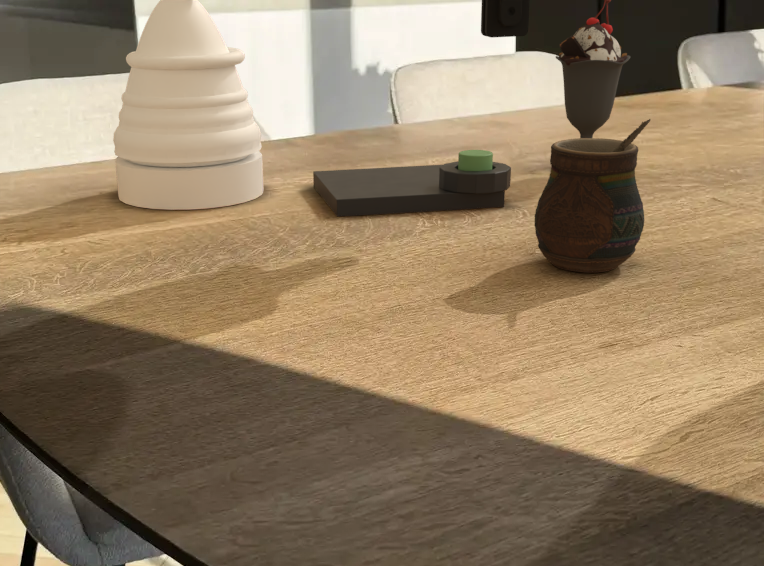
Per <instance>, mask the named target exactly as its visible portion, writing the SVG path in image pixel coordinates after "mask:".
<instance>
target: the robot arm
mask: <svg viewBox="0 0 764 566" xmlns="http://www.w3.org/2000/svg"><path fill="white" fill-rule="evenodd" d="M530 3H531V2H530V0H481V9H480V10H481V13H480V18H481V19H480V34H481V35H482V36H484V37H488V38H510V37H511V38H513V37H525V36H526V35H527V34H528V33H529V26H530V25H529V22H530Z"/></svg>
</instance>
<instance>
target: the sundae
mask: <svg viewBox="0 0 764 566" xmlns="http://www.w3.org/2000/svg"><path fill="white" fill-rule="evenodd" d="M603 1H604V2H603V6H602V8H601V9H600V11H599V12H598V13H597V14H596V15H595V16H594V17H589V18H588V19H587V20H586V21H585V24H584V25H583V26H581V27H579V28H578V29H577V31H575V33H574V34H572V35H571V36H569V37H567V38H566V39H565V40H563V41H562V42H560V43H559V48H560V51H561V52H559V54H558V55H556V56H555V59H556V60H557V61H559V62H560V63H561V66H562V68H561V69H562V78H563V79H562V80H563V94H564V95H563V96H564V97H563V98H564V107H565V116H566V119H567V120H568V122H569V123H570V124H571V126H572V127H574V128H575V129H576V130H577V131H578V132H579V138H594V134H595V133H596V132H597V130H599V129H600V128H602V127H603V126H604V125H605V124H606V122H608V120H609V119H610V117H611V114H612V111H613V108H614V104H615V101H616V100H615V99H616V94H617V90H618V85H619V80H620V77H621V72H622V69H623V65H625V64H626V63H627V62H628V61H630V59H631V55H629V54H628V53H627V52H624V53H622V46H621V45H620V44H619V42H618V40H617V39H616V38H615V37H614V36H612V35H611V34H612V33H613V30H614V29H613V26H612V25H611V24H610V21H609V3H611V2H612V0H603ZM605 6H606V9H605ZM604 9H605V13H606V14H605V17H606V18H605V20H606V23H605V22H603V23H601V22H600V20H599V19H598V17H599V15H601V13H602V12H603V10H604ZM600 23H601V24H600Z"/></svg>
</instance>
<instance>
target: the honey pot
mask: <svg viewBox="0 0 764 566" xmlns="http://www.w3.org/2000/svg"><path fill="white" fill-rule="evenodd" d="M245 57H246V55H245V53H244V51H243V50H241V49H240V48H236V47H229V46H227V44H226V42H225V40H224V38H223V36H222V33H221V31H220V30H219V27H218V26H217V24H216V22H215V21H214V19H213V18H212V16H211V15H210V13H209V12H208V11H207V9H206V7H205V6H204V5H203V4H202V3H201V2H200V1H199V0H159V1H158V2H157V4H156V5H155V6H154V8H153V10H152V11H151V13H150V15H149V17H148V19H147V21H146V23H145V25H144V27H143V31H142V32H141V35H140V37H139V41H138V43H137V46H136V49H135V51H131V52H129V53H128V54H127V55H126V56H125V61H126V64H127V65H128V66H129V67H130V71H129V74H128V79H127V82H126V88H125V92H123V93H122V95H121V102H122V106H121V108H120V111H119V112H118V120H119V121H118V126H117V127H116V129H115V130H114V132H113V138H112V142H113V144H114V150H113V151H114V155H115V156H117V157H116V158H115V159H114V164H115V174H116V186H117V196H118V199H119V201H120V202H122V203H124V204H126V205H130V206H133V207H138V208H144V209H151V210H168V211H173V210H174V211H175V210H178V211H179V210H180V211H181V210H184V211H185V210H187V211H189V210H203V209H214V208H215V209H216V208H221V207H230V206H233V205H239V204H244V203H247V202H250V201H253V200H256V199H257V198H259V197H261V196H262V195H263V194H264V190H265V189H264V165H263V153H262V152H261V149H262V147H263V144H262V132H261V128H260V126H259V125H258V124H257V122H256V121H255V119H254V110H253V108H252V106H251V104H250V102H249V100H248V97H249V93H248V91H247V89H246V88H244V86H243V83H242V81H241V78H240V77H241V76H240V75H239V73H238V69H237V67H236V65H239V64H242V63H243V61H244V60H245V59H246V58H245Z"/></svg>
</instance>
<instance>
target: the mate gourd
mask: <svg viewBox="0 0 764 566" xmlns="http://www.w3.org/2000/svg"><path fill="white" fill-rule="evenodd" d="M650 122H651V118H649V119H647V120H645V121H642V122H641V124H639V125H638V127H636V128H635V129H634V130H633V131H632V132H631V133H630V134H629V135H628V136H627V137H626V138H624V139H623V140H620V139H615V138H600V137H595V138H594V137H593V138H580V137H579V138H568V139H561V140H558V141H556V142H553V143H552V144H551V146H550V159H549V163H550V166H551V168H550V174H549V177H548V180H547V183H546V185H545V187H544V188H543V190H542V193H541V195H540V196H539V198H538V201H537V205H536V208H535V212H534V229H535V230H534V231H535V236H536V239H537V242H538V244H537V247H538V249H539V250H540V253H541V254H542V255H543V256H544V258H545V259H546V260H547V261H548V262H549V263H550V264H551V265H552V266H553V267H556V268H558V269H561V270H564V271H570V272H576V273H577V272H578V273H585V274H587V273H589V274H591V273H592V274H596V273H604V272H610V271H612V270H615V269H617V268H618V267H619V266H621V265H622V264H623V263H625V262H626V261H628V259H630V258H631V257H632V256H633V255H634V253H635V252H636V251H637V250H636V249H637V248H636V247H637V245H638V243H639V241H640V240H641V236H642V233H643V230H644V226H645V211H644V204H643V201H642V198H641V195H640V190H639V188H638V183H637V179H636V168H637V165H638V162H637V161H638V153H639V147H638V146H637V145H636V144H634V143H633V142H634V140H635V139H637V137H638V136H639V135H640V134H641V133H642V131H643V130H644V129H645V128H646V127H647V126H648V124H649V123H650Z"/></svg>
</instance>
